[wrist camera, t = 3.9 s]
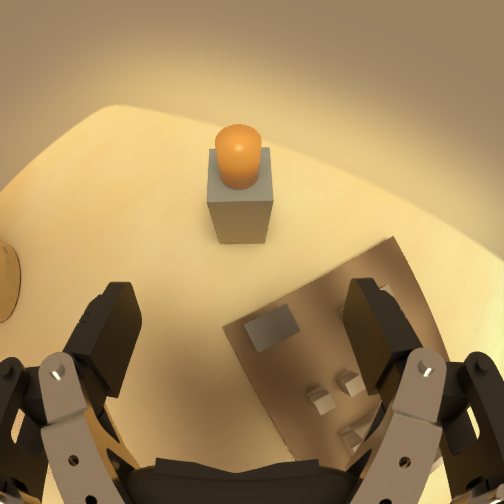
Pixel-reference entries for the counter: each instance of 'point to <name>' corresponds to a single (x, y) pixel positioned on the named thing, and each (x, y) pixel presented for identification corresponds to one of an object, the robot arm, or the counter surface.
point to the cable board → (325, 356)
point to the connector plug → (240, 186)
